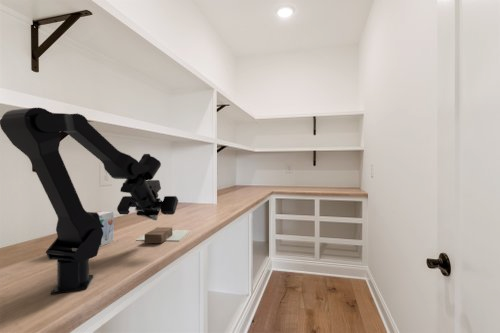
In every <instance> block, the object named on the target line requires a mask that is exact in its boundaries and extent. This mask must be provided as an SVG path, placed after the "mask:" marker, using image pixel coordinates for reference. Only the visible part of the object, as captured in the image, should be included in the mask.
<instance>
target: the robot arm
mask: <svg viewBox="0 0 500 333" xmlns="http://www.w3.org/2000/svg"><path fill="white" fill-rule="evenodd" d="M0 128H1V131H2V132H3V134H4V135H5V136H6V137H7V138H8V140H9V142H11V144H12V145H13V146H14V147H16V149H18V150H19V151H20V152H22V153H23V154H24V155H25V156H26V157H27V158H28V159H29V161H30V163H31V165H32V167H33V170H34V172H35V173H36V175H37V177H38V179H39V180H38V181H39V182H40V184H41V185H42V186H41V187H42V188H43V191H44V192H45V194H46V196H47V198H48V200H49V202H50V205H51V206H52V208H53V210H54V213H55V214H56V216H57V223H56V229H55V231H56V238H55V239H54V241H53V242H52V243H51V245H49V247H48V248H47V249H46V250H45V253H46V256H47V258H48V260H54V261H56V265H57V269H56V272H57V273H56V274H57V276H56V285H55V286H54V287H53V288H52V289H51V291H50V294H51V295H54V294H56V295H57V294H60V293H68V292H74V291H79V290H80V291H81V290H85V289H88V287H89V286H90V284H91V282H92V280H93V278H94V275H93V274H90V272H89V270H90V268H89V267H90V266H89V264H90V263H89V262H90V259H92V258H95V257H97V256H98V253H99V250H100V247H101V246H100V243H101V239H102V236H103V230H102V227H104V226H103V225H102V223H101V222H100V218H99V215H98V213H96V212H97V211H94V212H93V211H92V212H90V211H86V210H85V208H84V207H83V204H82V201H81V200H80V196H79V194H78V191H77V189H76V188H75V186H74V183H73V181H72V179H71V176H70V173H69V172H68V169H67V168H66V165H65V163H64V160H63V157H62V156H61V153H60V151H59V150H60V145H61V144H60V143H61V138H62V135H61V133H66V134H67V135H69V136H70V137H71V138H72V139H73V140H75V141H76V142H77V143H79V145H81V146H82V147H83V148H84V149H86V150H87V151H88V152H90V153H91V154H92V155H93V156H94V157H95V158H97V159H98V160H99V161H100V162H101V163H102V164H103V168H104V170H105V171H106V172H107V173H108V175H109V176H110V178H112V179H115V180H124V182H122V186H121V187H120V193H126V194H127V193H128V194H130V195H124V196H122V198H121V199H120V201H119V203H118V205H117V207H116V211H117V212H118V213H119V215H129V214H130V210H129V209H130V208H135V209H134V211H135V212H136V215H137V216H140V217H142V218H147V219H149V220H153V221H157V220H158V217H159V214H160V213H161V214H163V215H167V216H168V215H169V216H170V215H171V216H173V215H174V214H175V213H176V211H177V206H178V204H179V199H178V197H177V196H176V195H168V196H167V195H164V197H163V200H162V199H161V198H159V194H158V193H159V192H160V191H161V189H162V187H161V183H160V180H159V179H154V177H155V175H156V174H157V172H158V171H159V169H160V168H161V167H162V163H161V161H160V160H158V159H157V158H156V157H155V156H151V154H150V153H143V154H142V156H141V158H140V160H137V159H136V158H134V157H133V156H131V155H130V154H126V153H125V152H122V151H121V150H118V148H116V147H115V146H114V145H113V144H112V143H111V142H110V141H109V140H108V139H106V137H104V136H103V135H102V134H101V132H99V131H98V130H97V129H96V128H95V127H94V126H93V125H92V124H90V122H88V120H87V118H86V117H85V115H83V114H80V113H61V112H60V113H58V112H55V113H54V112H51V111H49V110H48V109H46V108H42V107H29V108H19V109H11V110H8V111H6V112H5V113H4V114H3V115H2V116H1V119H0ZM99 246H100V247H99ZM73 248H75V249H73Z"/></svg>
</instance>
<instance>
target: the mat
mask: <svg viewBox="0 0 500 333" xmlns="http://www.w3.org/2000/svg"><path fill="white" fill-rule="evenodd" d="M190 232H192V230H191V229H190V230H189V229H185V230H184V229H175V230H174V229H172V236H171V237H169V238H168V239H167V240H165V241H164V242H180V241H181V240H183V239H184V238H185V237H186V236H187V235H188V234H189V233H190ZM135 241H137V242H143V241H144V242H145V234H143V235H142V236H140V237H138V238H137V239H135Z"/></svg>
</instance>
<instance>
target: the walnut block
mask: <svg viewBox="0 0 500 333" xmlns="http://www.w3.org/2000/svg"><path fill="white" fill-rule="evenodd" d="M172 230H173V227H172V226H171V227H170V226H169V227H167V226H166V227H165V226H164V227H163V226H160V227H159V226H158V227H155V228H154V229H152V230H149V231H148V232H146V233H145V234H144V235H145V241H144V244H162V243H164V242H166V241H165V240H167V239H168V238H169V237H171V236H172Z"/></svg>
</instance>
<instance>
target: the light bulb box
mask: <svg viewBox="0 0 500 333" xmlns="http://www.w3.org/2000/svg"><path fill="white" fill-rule="evenodd" d="M95 212H96V213H98V215H99V218H100V222H101V223H102V225H103V226H104V227H102V230H103V236H102V239H101V243H100V246H99V248H100V247H103V246H105V245H108V244H110V243H113V242H114V234H115V233H114V228H115V227H114V225H115V224H114V221H115V220H114V215H115V212H114V211H100V210H99V211H98V210H97V211H95ZM72 250H76V249H75V248H72Z"/></svg>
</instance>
